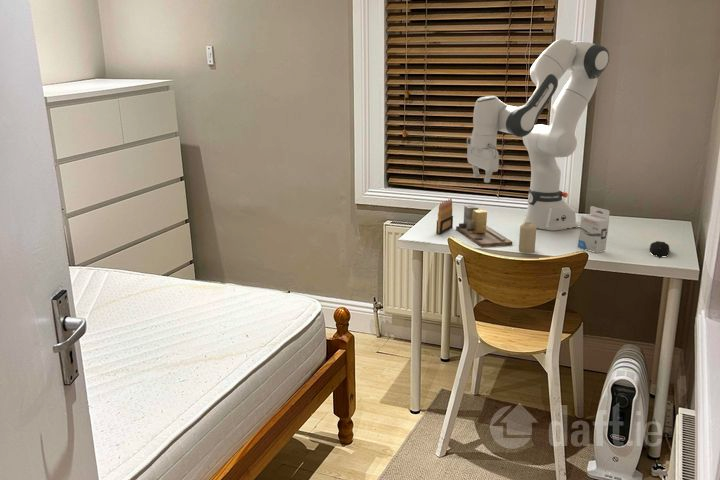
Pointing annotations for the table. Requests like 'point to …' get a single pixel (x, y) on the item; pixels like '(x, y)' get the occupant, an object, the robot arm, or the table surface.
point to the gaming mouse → (659, 248)
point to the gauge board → (481, 238)
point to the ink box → (594, 230)
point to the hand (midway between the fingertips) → (481, 179)
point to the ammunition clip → (444, 217)
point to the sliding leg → (478, 221)
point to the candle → (527, 237)
